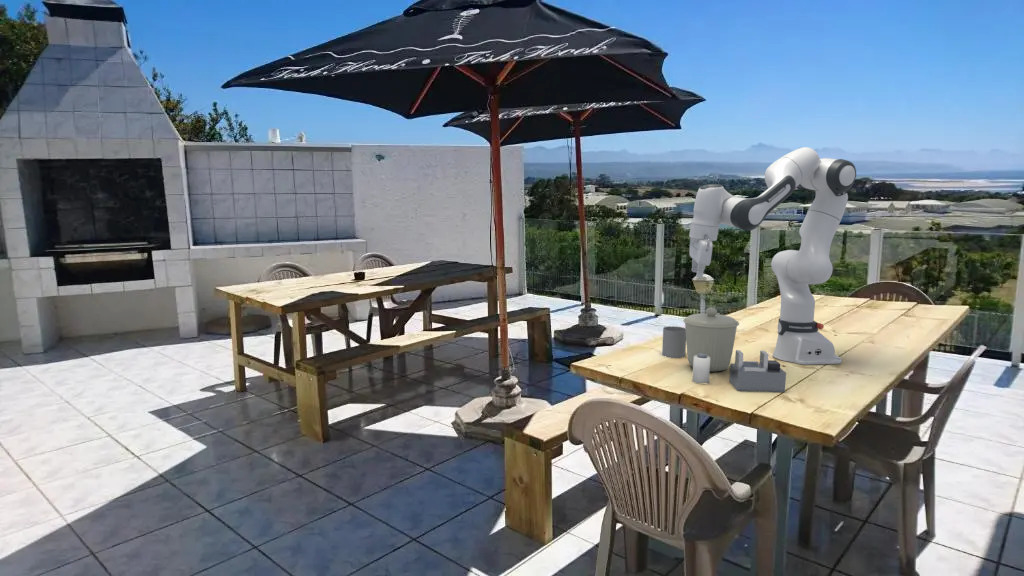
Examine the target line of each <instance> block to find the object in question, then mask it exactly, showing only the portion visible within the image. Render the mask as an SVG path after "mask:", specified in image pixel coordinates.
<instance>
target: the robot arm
mask: <svg viewBox="0 0 1024 576" xmlns="http://www.w3.org/2000/svg"><path fill="white" fill-rule="evenodd" d="M765 169H766V170H765V173H764V181H765V184H766V186H767V189H766V190H764V191H763V192H762V193H761V194H760V195H758V196H757V197H756V196H755V197H752V198H745V197H739V196H738V197H737V196H734V195H733V194H731V193H730V192H728V191H727V190H726V189H725V188H724V186H723V185H722V184H717V183H713V184H712V183H711V184H704V185H701V186H700V187H699V188H698V190H697V193H696V196H695V200H694V204H693V218H692V220H691V224H690V227H689V228H690V230H689V234H688V235H689V238H690V239H689V250H688V251H689V257H690V258H691V259H692V260H691V272H693V273H696V275H695V276H696V277H697V278H703V276H704V272H705V269H706V266H707V267H708V266H710V265H711V261H712V255H713V254H712V253H713V245H714V244H713V242H716V241H717V240H718V235H719V229H720V224H721V225H724V226H725V225H726V226H729V227H733V228H736V229H739V230H741V231H742V230H743V231H746V232H750V231H753V230H755V229H757V228H758V227H759V226H760V225H761V224H762V223H763V222H764V220H765V219H766V217H767V216H768V215H769V214H770V213H771V212H772V211H774V210H775V209H776V208H777V207H778V206H779V205H781V204H782V203H783V202H784V201H786V199H788V198H789V197H790V196H791V195H792V194H793V193H794V191H795V190H796V187H799V188H801V189H804V190H812V191H815V197H814V199H813V200H812V202H811V204H810V206H809V209H808V210H807V213H806V215H805V217H804V219H803V221H802V223H801V226H800V227H799V230H798V234H799V236H800V237H801V240H800V241H801V242H800V247H799V250H796V249H787V250H782V251H778V252H777V253H776V254H775V255H774V256H773V257H772V260H771V263H770V264H771V265H770V266H771V270H772V272H773V273H774V274H775V276H776V279H777V283H778V287H779V293H780V311H779V312H780V314H779V315H780V316H779V318H778V323H777V340H776V343H775V344H776V345H775V348H774V350H773V353H772V357H773V358H775V359H776V360H780V361H785V362H791V363H794V364H799V365H802V366H803V365H804V366H806V365H837V364H839V365H840V364H842V363H843V361H842V358H841V357H840V356H838V355H836V350H835V349H836V348H835V346H834V344H833V342H832V341H831V340H830V339H828V338H827V337H825V336H824V335H823V334H822V333H821V332H820V331H819V330H823V329H824V328H825V325H824V324H823V323H821V322H817V321H816V320H814V317H815V309H816V308H815V307H816V306H815V305H816V299H815V297H814V296H813V294H812V292H811V289H810V286H809V285H819V284H824V283H826V282H827V281H828V280H829V279H830V278H831V276H832V274H833V269H834V267H833V264H832V262H831V258H830V251H831V245H832V241H833V239H834V237H835V234H836V232H837V230H838V227H839V225H840V223H841V221H842V219H843V217H844V213H845V211H846V208H847V204H848V200H849V195H848V192H849V191H850V190H851V188H852V186H853V184H854V183H855V181H856V178H857V170H856V166H855V164H854V163H853V162H851V161H849V160H846V159H843V158H839V159H837V158H829V157H823V158H820V156H819V154H818V153H817V151H816V150H815V149H813V148H812V147H807V146H803V147H800V148H797V149H794V150H792V151H790V152H788V153H786V154H784V155H783V156H782V157H779V158H777V159H776V160H775V161H773V162H772V163H771V164H770V165H769V166H768V167H767V168H765Z"/></svg>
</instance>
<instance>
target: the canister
mask: <svg viewBox="0 0 1024 576" xmlns="http://www.w3.org/2000/svg"><path fill="white" fill-rule="evenodd" d="M682 321H683V323H684V324H685V325H684V328H685V330H686V352H687V361H688V364H689V365H690V366H691V368H693V361H694V356H695V355H697V353H706V354H707V356H709V357H710V372H712V373H714V372H715V373H716V372H722V371H726V370H727V369H728V368H729V367H730V363H731V362H732V356H733V352H734V346H735V345H734V344H735V340H736V335H737V334H736V333H737V329H738V326H739V325H740V322H739V321H737V320H736V319H735V318H734V317H731V316H729V315H725V314H719V313H718V310H717V309H716V308H715V307H710V306H709V307H707V308H706V310H705V313H693V314H690V315H688V316H686V317H684V318H683V319H682ZM710 372H709V373H710Z"/></svg>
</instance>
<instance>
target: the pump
mask: <svg viewBox="0 0 1024 576" xmlns="http://www.w3.org/2000/svg"><path fill="white" fill-rule="evenodd" d="M692 382H693V383H695V382H696V383H695V384H699V383H707V384H709V383H710V357H709V356H707V354H706V353H697V355H695V356H694V361H693V367H692Z"/></svg>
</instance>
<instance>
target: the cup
mask: <svg viewBox="0 0 1024 576" xmlns="http://www.w3.org/2000/svg"><path fill="white" fill-rule="evenodd" d="M661 352H662V353H661V356H663V357H665V356H666V357H665V358H669V357H671V358H670V359H682V357H683V358H685V357H686V352H687V344H686V330H685V327H681V326H671V325H670V326H665V327H663V328H662V350H661Z"/></svg>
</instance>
